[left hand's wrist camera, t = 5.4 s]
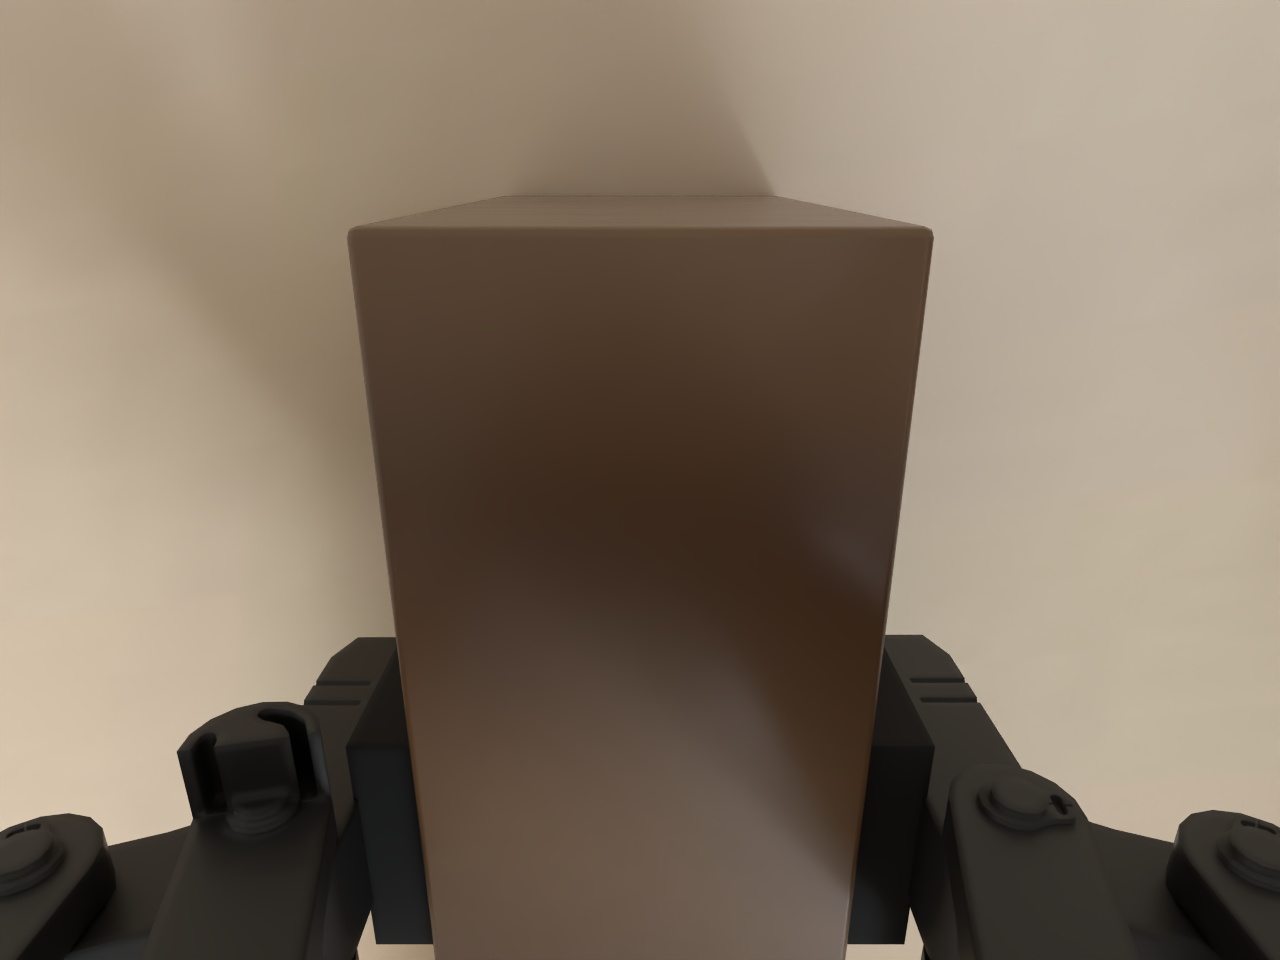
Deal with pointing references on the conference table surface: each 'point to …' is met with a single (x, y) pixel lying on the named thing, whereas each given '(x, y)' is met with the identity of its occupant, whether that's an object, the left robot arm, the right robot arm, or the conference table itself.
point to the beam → (640, 559)
